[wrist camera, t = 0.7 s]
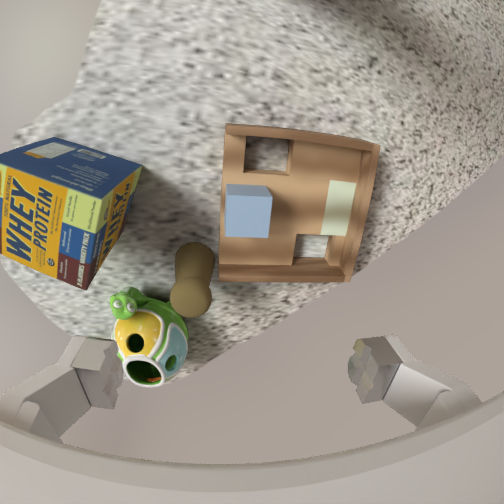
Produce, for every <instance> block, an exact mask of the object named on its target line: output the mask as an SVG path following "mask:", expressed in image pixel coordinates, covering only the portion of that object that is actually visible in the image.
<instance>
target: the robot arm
mask: <svg viewBox="0 0 504 504" xmlns="http://www.w3.org/2000/svg"><path fill="white" fill-rule="evenodd" d="M353 349H354V350H355V353H354V354H353V355H352V356H351V357H350V359H349V363H348V374H349V378H350V380H351V382H352V383H354V384H356V385H357V389H356V392H357V394H358V396H359V398H360V400H361V402H362V403H363V404H364V403H369V402H375V401H380V400H383V402H384V403H386V404H387V405H388V406H390V407H391V408H392V409H394V410H395V411H396V412H398V413H399V414H400V415H402V416H403V417H404V418H406V419H407V420H408V421H410V422H411V423H413V424H414V425H415V426H417V429H416V430H415V431H414V432H412V433H409V434H406V435H403V436H399V437H396V438H393V439H389V440H386V441H383V442H379V443H375V444H372V445H368V446H364V447H360V448H356V449H351V450H346V451H342V452H337V453H332V454H326V455H320V456H314V457H308V458H301V459H294V460H285V461H276V462H264V463H247V464H189V463H172V462H162V461H152V460H143V459H135V458H129V457H123V456H117V455H111V454H106V453H101V452H96V451H92V450H87V449H83V448H79V447H74V446H71V445H67V444H64V443H63V442H62V440H61V439H60V436H61V435H62V434H63V433H64V432H65V431H66V430H68V429H69V428H70V427H71V426H72V425H73V424H74V423H75V422H76V421H77V420H78V419H79V418H80V417H82V416H83V415H84V414H85V413H86V412H87V411H88V410H89V409H90V408H91V406H92V407H98V408H106V409H114V407H115V404H116V401H117V397H118V393H117V391H116V389H117V388H118V387H120V386H121V384H122V380H123V364H122V360H121V359H120V358H119V357H118V356H117V353H118V350H119V349H118V345H117V342H116V341H115V340H111V339H103V338H95V337H87V336H80V335H75V336H73V338H72V339H71V341H70V343H69V344H68V346H67V348H66V350H65V351H64V353H63V355H62V356H61V359H60V360H59V362H58V364H57V365H56V364H52V365H51V366H49V367H47V368H46V369H44V370H42V371H40V372H39V373H37V374H35V375H33V376H32V377H30V378H28V379H26V380H25V381H23V382H22V383H20V384H18V385H16V386H14V387H13V388H11V389H9V390H8V391H6V392H5V393H4V394H3V396H2V398H1V400H0V504H504V391H503V392H502V393H500V394H499V395H496V396H494V397H493V398H491V399H489V400H487V401H485V402H483V403H482V402H481V401H480V399H479V398H478V397H477V395H476V394H475V393H474V392H473V390H472V389H471V388H470V386H469V385H468V384H467V383H466V382H463V381H462V380H459V379H457V378H455V377H453V376H451V375H449V374H447V373H445V372H443V371H441V370H439V369H437V368H434V367H432V366H430V365H428V364H426V363H424V362H422V361H420V360H415V359H414V358H413V356H412V355H411V354H410V353H409V351H408V350H407V349H406V348H405V346H404V345H403V344H402V342H401V341H400V340H399V339H398V337H397V336H396V335H394V334H391V335H384V336H381V337H372V338H363V339H358V340H357V341H356V342H355V344H354V347H353Z"/></svg>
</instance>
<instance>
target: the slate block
mask: <svg viewBox="0 0 504 504" xmlns="http://www.w3.org/2000/svg"><path fill="white" fill-rule="evenodd" d="M272 199H273V197H272V195H271V194H270V192H269V190H268V188H267V187H266V186H263V185H244V184H226V198H225V216H224V225H225V237H254V238H268V234H269V225H270V216H271V208H272Z"/></svg>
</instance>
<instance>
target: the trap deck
mask: <svg viewBox="0 0 504 504" xmlns="http://www.w3.org/2000/svg"><path fill="white" fill-rule="evenodd" d="M246 136H260V137H271V138H282V139H290V141H289V150H288V159H287V167H286V172H281V171H268V170H253V169H244V156H245V144H246ZM379 152H380V145H377V144H374V143H371V142H368V141H365V140H361V139H356V138H350V137H345V136H339V135H333V134H326V133H320V132H313V131H305V130H298V129H289V128H280V127H270V126H259V125H245V124H229V123H226V126H225V140H224V155H223V172H222V189H221V209H220V231H219V257H218V269H219V282H350V280H351V277H352V273H353V269H354V266H355V262H356V258H357V255H358V251H359V247H360V243H361V239H362V235H363V231H364V227H365V222H366V218H367V214H368V209H369V205H370V200H371V195H372V190H373V185H374V180H375V175H376V169H377V164H378V158H379ZM226 184H244V185H263V186H266V187H267V188H268V190H269V192H270V194H271V195H272V197H273V199H272V208H271V216H270V225H269V234H268V238H254V237H225V225H224V216H225V198H226ZM297 234H314V235H329V239H328V244H327V248H326V253H325V258H313V257H293V254H294V248H295V242H296V235H297Z"/></svg>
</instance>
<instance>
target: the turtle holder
mask: <svg viewBox="0 0 504 504" xmlns="http://www.w3.org/2000/svg"><path fill="white" fill-rule="evenodd" d="M110 306H111V309H112V312H113V315H114V316H115V317H116V322H115V325H114V330H113V331H112V340H115V341H116V342H117V345H118V349H119V350H118V353H117V356H118V357H119V358H120V359H121V360H122V364H123V370H124V372H125V373H126V375H127V377H128V378H129V379H130V380H131V381H132V382H133V383H134V384H136V385H139V386H142V387H158V386H161V385H163V384H164V383H165V382H168V381H169V380H171V379H172V378H174V377H175V376H176V375H177V373H178V372H179V370H180V369H181V368H182V366H183V364H184V361H185V358H186V355H187V350H188V344H187V342H188V331H187V327H186V325H185V322H184V321H183V319H182V318H181V316H180V315H179V314H178V313H177V312H176V311H175V310H174V308H173V307H172V305H171V302H170V301H168V302H167V303H165V302H162V301H160V300H156V299H153V298H148V297H146V296H144V295H143V294H142V293H141V292H140V291H139V290H138V289H136V288H134V287H126V288H124V289H123V290H122V291H121V292H120V293H117V294H114V295H112V296H111V298H110ZM153 381H155V382H153Z"/></svg>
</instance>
